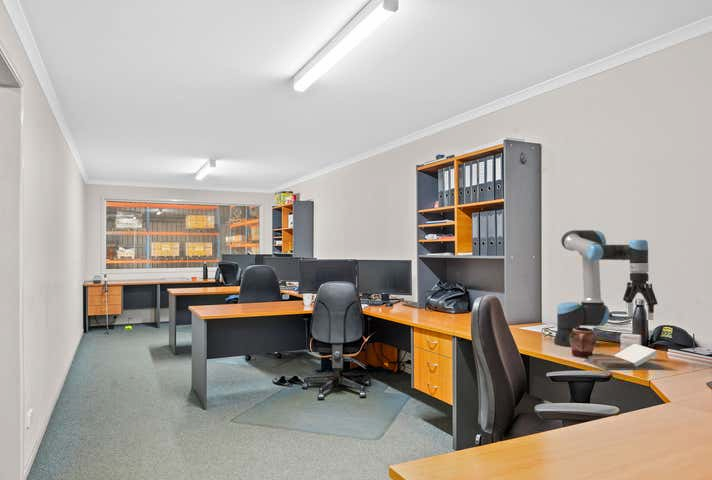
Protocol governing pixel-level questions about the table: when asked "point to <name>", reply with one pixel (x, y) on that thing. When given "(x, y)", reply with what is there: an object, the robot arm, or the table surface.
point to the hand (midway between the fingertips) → (639, 318)
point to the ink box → (629, 340)
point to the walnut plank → (610, 362)
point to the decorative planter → (582, 342)
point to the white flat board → (636, 354)
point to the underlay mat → (640, 367)
